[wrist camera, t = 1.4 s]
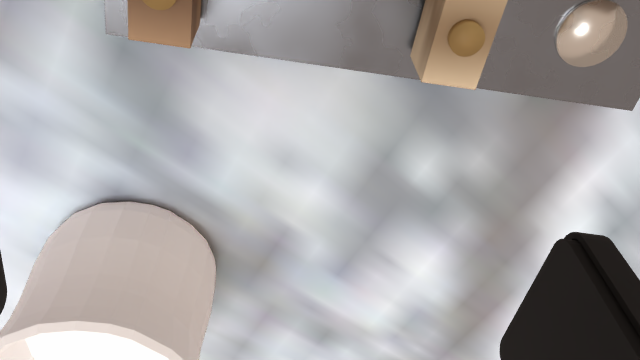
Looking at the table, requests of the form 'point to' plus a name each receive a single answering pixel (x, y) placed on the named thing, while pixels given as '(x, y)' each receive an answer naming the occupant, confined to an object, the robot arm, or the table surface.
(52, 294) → the cup
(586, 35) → the strip
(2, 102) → the table surface
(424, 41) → the sliding jaw
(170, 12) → the rail
